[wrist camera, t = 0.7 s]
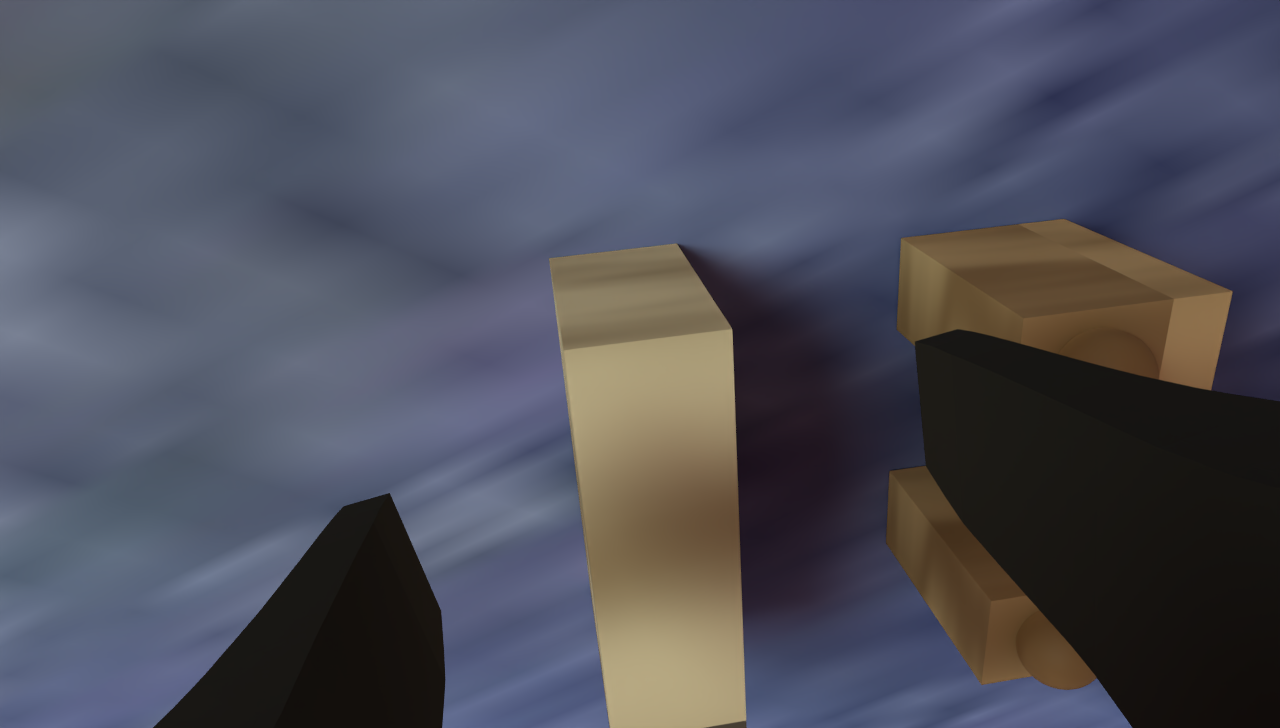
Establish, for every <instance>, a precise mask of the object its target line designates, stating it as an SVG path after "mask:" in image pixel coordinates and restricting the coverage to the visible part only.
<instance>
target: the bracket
mask: <svg viewBox="0 0 1280 728" xmlns="http://www.w3.org/2000/svg"><path fill="white" fill-rule="evenodd" d="M1232 292H1233V291H1231V290H1228V289H1226V288H1224V287H1221V286H1219V285H1217V284H1214V283H1212V282H1210V281H1207V280H1205V279H1203V278H1200V277H1198V276H1196V275H1193V274H1191V273H1189V272H1186V271H1184V270H1182V269H1179V268H1177V267H1175V266H1172V265H1170V264H1168V263H1165V262H1163V261H1161V260H1158V259H1156V258H1154V257H1151V256H1149V255H1147V254H1144V253H1142V252H1140V251H1138V250H1135V249H1133V248H1131V247H1128V246H1126V245H1124V244H1121V243H1119V242H1117V241H1114V240H1112V239H1110V238H1107V237H1105V236H1103V235H1100V234H1098V233H1096V232H1093V231H1091V230H1089V229H1086V228H1084V227H1082V226H1079V225H1077V224H1075V223H1072V222H1070V221H1068V220H1065V219H1059V220H1051V221H1042V222H1034V223H1025V224H1017V225H1008V226H1000V227H991V228H983V229H974V230H966V231H957V232H949V233H940V234H932V235H924V236H915V237H907V238H901V253H900V273H899V293H898V313H897V330H898V331H899V332H900V333H901V334H902V335H903V336H904V337H906V338H907V339H908V340H909V341H910V342H911V343H912V344H913V345H914V346H915V341H918V340H921V339H925V338H928V337H932V336H935V335H939V334H942V333H946V332H949V331H953V330H956V329H961V330H967V331H972V332H977V333H981V334H986V335H990V336H994V337H998V338H1001V339H1005V340H1009V341H1013V342H1016V343H1020V344H1024V345H1027V346H1031V347H1034V348H1038V349H1042V350H1045V351H1049V352H1052V353H1056V354H1060V355H1063V356H1067V357H1070V358H1074V359H1078V360H1082V361H1085V362H1089V363H1093V364H1097V365H1100V366H1104V367H1108V368H1112V369H1116V370H1120V371H1124V372H1128V373H1132V374H1136V375H1140V376H1145V377H1150V378H1154V379H1159V380H1163V381H1168V382H1172V383H1177V384H1181V385H1186V386H1191V387H1195V388H1201V389H1206V390H1211V388H1212V383H1213V379H1214V374H1215V370H1216V365H1217V361H1218V356H1219V352H1220V347H1221V342H1222V338H1223V333H1224V329H1225V324H1226V320H1227V315H1228V311H1229V306H1230V301H1231V297H1232ZM886 544H887V545H888V547H889V548H890V550H891V551H892V553H893V554H894V556H895V557H896V559H897V560H898V562H899V563H900V565H901V566H902V567H903V569H904V570H905V572H906V573H907V575H908V576H909V578H910V579H911V581H912V582H913V584H914V585H915V587H916V588H917V590H918V591H919V593H920V594H921V596H922V597H923V599H924V600H925V602H926V603H927V605H928V606H929V608H930V609H931V611H932V612H933V613H934V615H935V616H936V618H937V619H938V621H939V622H940V624H941V625H942V627H943V628H944V630H945V631H946V633H947V634H948V636H949V637H950V639H951V640H952V642H953V643H954V645H955V646H956V648H957V649H958V651H959V652H960V654H961V655H962V657H963V658H964V660H965V661H966V662H967V664H968V665H969V667H970V668H971V670H972V671H973V673H974V674H975V676H976V677H977V679H978V680H979V682H980V683H981V685H983V684H989V683H995V682H1001V681H1007V680H1013V679H1018V678H1024V677H1030V676H1033V677H1034V678H1035V679H1037V680H1038V681H1040V682H1041V683H1043V684H1045V685H1047V686H1050V687H1053V688H1057V689H1064V690H1071V689H1077V688H1081V687H1084V686H1086V685H1088V684H1089V683H1091V682H1092V681H1094V680H1095V679H1096V678H1097V677H1096V676H1095V675H1094V673H1093V672H1092V671H1091V670H1090V668H1089V667H1088V666H1087V665H1086V663H1085V662H1084V661H1083V660H1082V659H1081V657H1080V656H1079V655H1078V654H1077V652H1076V651H1075V650H1074V649H1073V648H1072V646H1071V645H1070V644H1069V643H1068V642H1067V641H1066V639H1065V638H1064V637H1063V636H1062V635H1061V634H1060V633H1059V632H1058V630H1057V629H1056V628H1055V627H1054V626H1053V625H1052V624H1051V623H1050V622H1049V620H1048V619H1047V618H1046V617H1045V616H1044V615H1043V614H1042V613H1041V611H1040V610H1039V609H1038V608H1037V607H1036V606H1035V605H1034V604H1033V602H1032V601H1031V600H1030V599H1029V598H1028V597H1027V596H1026V595H1025V593H1024V592H1023V591H1022V590H1021V589H1020V588H1019V587H1018V586H1017V584H1016V583H1015V582H1014V581H1013V580H1012V579H1011V578H1010V577H1009V575H1008V574H1007V573H1006V572H1005V571H1004V570H1003V569H1002V568H1001V566H1000V565H999V564H998V563H997V562H996V561H995V560H994V558H993V557H992V556H991V555H990V554H989V553H988V552H987V550H986V549H985V548H984V547H983V546H982V545H981V544H980V542H979V541H978V540H977V539H976V538H975V537H974V536H973V534H972V533H971V532H970V531H969V530H968V528H967V527H966V526H965V525H964V524H963V522H962V521H961V519H960V518H959V517H958V515H957V514H956V512H955V511H954V509H953V508H952V506H951V505H950V503H949V502H948V500H947V499H946V497H945V496H944V494H943V493H942V491H941V489H940V488H939V486H938V485H937V483H936V482H935V480H934V478H933V477H932V475H931V474H930V472H929V471H928V469H927V467H926V466H921V467H914V468H907V469H900V470H893V471H890V473H889V493H888V513H887V533H886Z"/></svg>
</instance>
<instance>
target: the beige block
mask: <svg viewBox="0 0 1280 728" xmlns="http://www.w3.org/2000/svg"><path fill="white" fill-rule="evenodd" d="M549 261H550V269H551V277H552V285H553V293H554V301H555V309H556V317H557V325H558V333H559V341H560V349H561V357H562V365H563V373H564V381H565V389H566V397H567V405H568V413H569V421H570V429H571V437H572V445H573V453H574V461H575V469H576V477H577V485H578V493H579V501H580V509H581V517H582V525H583V533H584V541H585V549H586V557H587V565H588V573H589V581H590V589H591V597H592V604H593V612H594V619H595V626H596V633H597V640H598V648H599V655H600V662H601V669H602V676H603V683H604V691H605V698H606V705H607V712H608V719H609V726H610V728H746V703H745V675H744V646H743V618H742V589H741V561H740V532H739V504H738V476H737V447H736V419H735V390H734V362H733V333H732V328H731V326H730V325H729V323H728V322H727V320H726V318H725V317H724V315H723V314H722V312H721V311H720V309H719V308H718V306H717V305H716V303H715V302H714V300H713V298H712V297H711V295H710V294H709V292H708V291H707V289H706V288H705V286H704V285H703V283H702V282H701V280H700V278H699V277H698V275H697V274H696V272H695V271H694V269H693V268H692V266H691V265H690V263H689V262H688V260H687V258H686V257H685V255H684V254H683V252H682V251H681V249H680V248H679V246H678V245H677V244H669V245H660V246H652V247H643V248H634V249H626V250H617V251H609V252H600V253H591V254H583V255H574V256H565V257H557V258H549Z"/></svg>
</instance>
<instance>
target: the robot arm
mask: <svg viewBox="0 0 1280 728" xmlns="http://www.w3.org/2000/svg"><path fill="white" fill-rule="evenodd" d="M915 350H916V361H917V372H918V384H919V395H920V406H921V417H922V428H923V439H924V450H925V461H926V467H927V469H928V471H929V472H930V474H931V475H932V477H933V478H934V480H935V482H936V483H937V485H938V486H939V488H940V489H941V491H942V493H943V494H944V496H945V497H946V499H947V500H948V502H949V503H950V505H951V506H952V508H953V509H954V511H955V512H956V514H957V515H958V517H959V518H960V519H961V521H962V522H963V524H964V525H965V526H966V527H967V528H968V530H969V531H970V532H971V533H972V534H973V536H974V537H975V538H976V539H977V540H978V541H979V542H980V544H981V545H982V546H983V547H984V548H985V549H986V550H987V552H988V553H989V554H990V555H991V556H992V557H993V558H994V560H995V561H996V562H997V563H998V564H999V565H1000V566H1001V568H1002V569H1003V570H1004V571H1005V572H1006V573H1007V574H1008V575H1009V577H1010V578H1011V579H1012V580H1013V581H1014V582H1015V583H1016V584H1017V586H1018V587H1019V588H1020V589H1021V590H1022V591H1023V592H1024V593H1025V595H1026V596H1027V597H1028V598H1029V599H1030V600H1031V601H1032V602H1033V604H1034V605H1035V606H1036V607H1037V608H1038V609H1039V610H1040V611H1041V613H1042V614H1043V615H1044V616H1045V617H1046V618H1047V619H1048V620H1049V622H1050V623H1051V624H1052V625H1053V626H1054V627H1055V628H1056V629H1057V630H1058V632H1059V633H1060V634H1061V635H1062V636H1063V637H1064V638H1065V639H1066V641H1067V642H1068V643H1069V644H1070V645H1071V646H1072V648H1073V649H1074V650H1075V651H1076V652H1077V654H1078V655H1079V656H1080V657H1081V659H1082V660H1083V661H1084V662H1085V663H1086V665H1087V666H1088V667H1089V668H1090V670H1091V671H1092V672H1093V673H1094V675H1095V676H1096V677H1097V679H1098V680H1099V681H1100V683H1101V684H1102V686H1103V687H1104V688H1105V690H1106V691H1107V693H1108V694H1109V695H1110V697H1111V698H1112V700H1113V701H1114V702H1115V704H1116V705H1117V706H1118V708H1119V709H1120V711H1121V712H1122V713H1123V715H1124V716H1125V718H1126V719H1127V720H1128V722H1129V723H1130V725H1131V726H1132V727H1133V728H1280V401H1273V400H1267V399H1260V398H1254V397H1247V396H1241V395H1234V394H1228V393H1222V392H1217V391H1211V390H1206V389H1201V388H1195V387H1191V386H1186V385H1181V384H1177V383H1172V382H1168V381H1163V380H1159V379H1154V378H1150V377H1145V376H1140V375H1136V374H1132V373H1128V372H1124V371H1120V370H1116V369H1112V368H1108V367H1104V366H1100V365H1097V364H1093V363H1089V362H1085V361H1082V360H1078V359H1074V358H1070V357H1067V356H1063V355H1060V354H1056V353H1052V352H1049V351H1045V350H1042V349H1038V348H1034V347H1031V346H1027V345H1024V344H1020V343H1016V342H1013V341H1009V340H1005V339H1001V338H998V337H994V336H990V335H986V334H981V333H977V332H972V331H967V330H961V329H956V330H953V331H949V332H946V333H942V334H939V335H935V336H932V337H928V338H925V339H921V340H918V341H915ZM444 693H445V663H444V644H443V631H442V617H441V610H440V607H439V605H438V603H437V600H436V598H435V596H434V594H433V591H432V589H431V587H430V584H429V582H428V580H427V578H426V575H425V573H424V571H423V568H422V566H421V564H420V562H419V559H418V557H417V555H416V552H415V550H414V548H413V546H412V543H411V541H410V539H409V536H408V534H407V532H406V529H405V527H404V525H403V523H402V520H401V518H400V516H399V513H398V511H397V509H396V507H395V504H394V502H393V500H392V497H391V495H390V493H388V494H385V495H381V496H378V497H374V498H371V499H367V500H364V501H360V502H357V503H354V504H350V505H347V506H344V507H343V508H342V509H341V510H340V511H339V512H338V513H337V514H336V515H335V517H334V518H333V519H332V520H331V521H330V522H329V524H328V525H327V526H326V527H325V529H324V530H323V531H322V533H321V534H320V535H319V536H318V538H317V539H316V540H315V541H314V543H313V544H312V545H311V547H310V548H309V549H308V551H307V552H306V553H305V554H304V556H303V557H302V558H301V560H300V561H299V562H298V563H297V565H296V566H295V567H294V569H293V570H292V571H291V572H290V574H289V575H288V576H287V577H286V579H285V580H284V581H283V582H282V584H281V585H280V586H279V588H278V589H277V590H276V591H275V593H274V594H273V595H272V596H271V598H270V599H269V600H268V601H267V603H266V604H265V605H264V607H263V608H262V609H261V610H260V611H259V613H258V614H257V615H256V616H255V617H254V619H253V620H252V621H251V622H250V623H249V624H248V625H247V627H246V628H245V629H244V630H243V631H242V632H241V634H240V635H239V636H238V637H237V638H236V639H235V641H234V642H233V643H232V644H231V645H230V646H229V647H228V649H227V650H226V651H225V652H224V653H223V654H222V656H221V657H220V658H219V659H218V660H217V661H216V663H215V664H214V665H213V666H212V667H211V668H210V669H209V671H208V672H207V673H206V674H205V675H204V676H203V677H202V678H201V679H200V680H199V682H198V683H197V684H196V685H195V686H194V687H193V688H192V689H191V690H190V691H189V692H188V693H187V694H186V695H185V696H184V697H183V698H182V699H181V700H180V702H179V703H178V704H177V705H176V706H175V707H174V708H173V709H172V710H171V711H170V712H169V713H168V714H167V715H166V716H165V717H164V718H163V719H162V720H160V721H159V722H158V723H157V724H156V725H155V726H154V727H153V728H442V721H443V708H444Z"/></svg>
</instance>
